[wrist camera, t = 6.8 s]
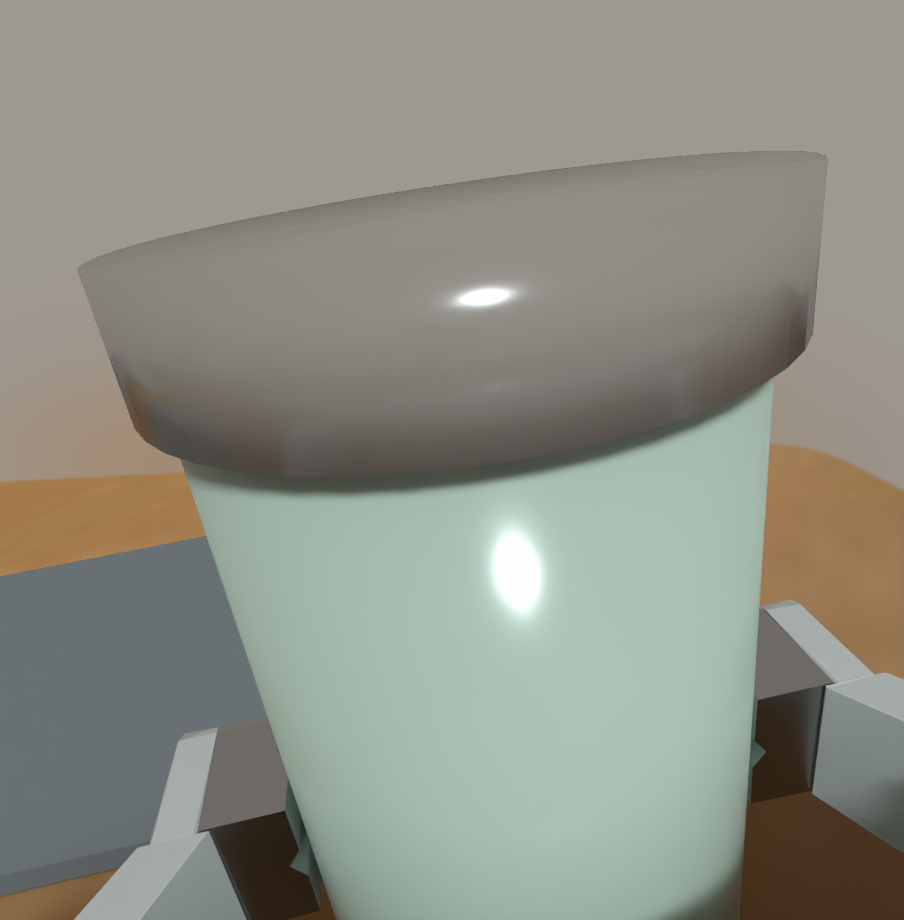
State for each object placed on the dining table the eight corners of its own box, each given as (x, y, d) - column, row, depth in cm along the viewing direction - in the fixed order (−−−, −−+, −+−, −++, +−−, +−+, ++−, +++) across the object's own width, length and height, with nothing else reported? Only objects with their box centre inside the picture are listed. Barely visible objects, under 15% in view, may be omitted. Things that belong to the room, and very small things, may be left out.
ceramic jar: (391, 1358, 9) (-118, 340, 3) (371, 893, 14) (174, 226, 8) (836, 1225, 9) (1083, 140, 4) (649, 826, 14) (633, 155, 9)
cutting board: (-483, 1010, 14) (-504, 993, 14) (-99, 609, 27) (-106, 597, 27) (450, 789, 16) (446, 771, 16) (399, 510, 29) (396, 498, 28)
